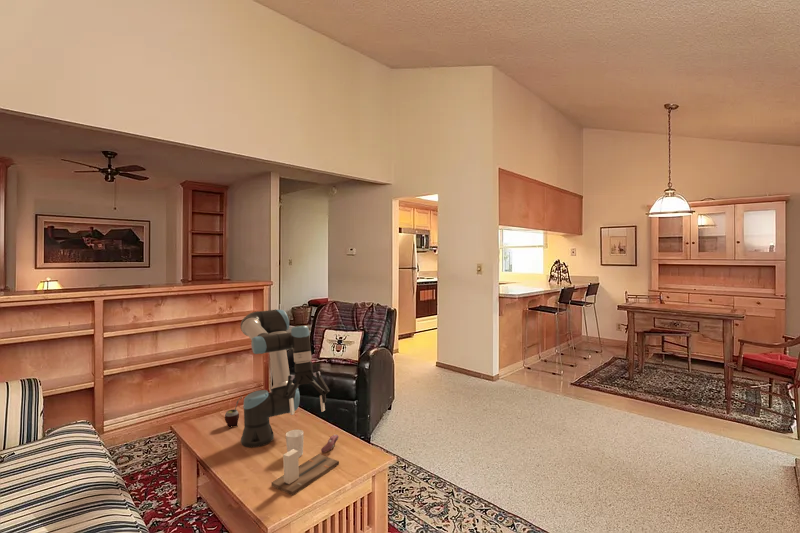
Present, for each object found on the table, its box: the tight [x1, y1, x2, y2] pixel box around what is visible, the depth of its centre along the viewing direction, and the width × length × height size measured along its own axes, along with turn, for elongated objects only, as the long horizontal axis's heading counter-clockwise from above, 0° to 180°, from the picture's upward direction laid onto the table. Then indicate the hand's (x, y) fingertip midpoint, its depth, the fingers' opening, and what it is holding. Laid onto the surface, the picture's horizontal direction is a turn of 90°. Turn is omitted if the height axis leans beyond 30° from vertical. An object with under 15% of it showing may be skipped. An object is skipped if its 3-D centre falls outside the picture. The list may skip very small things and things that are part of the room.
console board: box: [271, 453, 340, 497], centre depth 166 cm, size 12×26×2 cm, turn 146°
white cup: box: [285, 429, 304, 458], centre depth 183 cm, size 8×8×10 cm
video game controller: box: [320, 433, 339, 454], centre depth 188 cm, size 10×5×7 cm, turn 169°
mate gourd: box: [224, 396, 243, 428], centre depth 216 cm, size 8×8×15 cm
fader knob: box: [282, 449, 300, 484], centre depth 160 cm, size 3×5×11 cm, turn 146°
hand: (307, 412), depth 171 cm, fingers open, 13 cm apart
